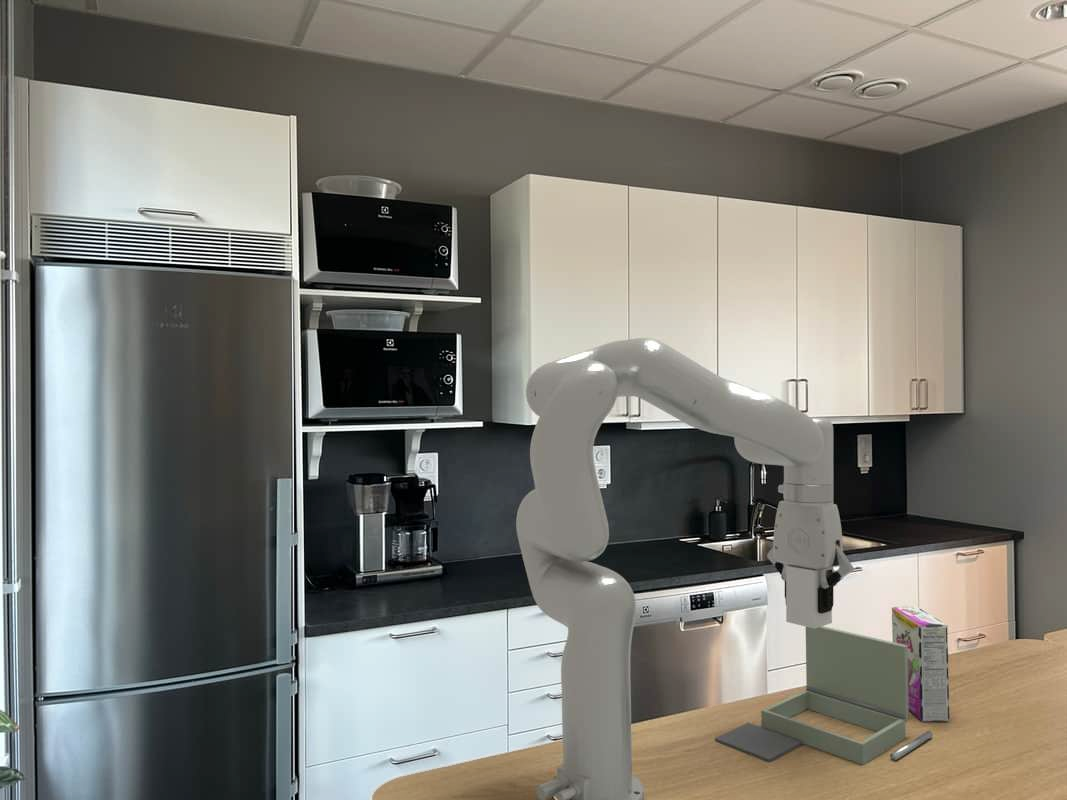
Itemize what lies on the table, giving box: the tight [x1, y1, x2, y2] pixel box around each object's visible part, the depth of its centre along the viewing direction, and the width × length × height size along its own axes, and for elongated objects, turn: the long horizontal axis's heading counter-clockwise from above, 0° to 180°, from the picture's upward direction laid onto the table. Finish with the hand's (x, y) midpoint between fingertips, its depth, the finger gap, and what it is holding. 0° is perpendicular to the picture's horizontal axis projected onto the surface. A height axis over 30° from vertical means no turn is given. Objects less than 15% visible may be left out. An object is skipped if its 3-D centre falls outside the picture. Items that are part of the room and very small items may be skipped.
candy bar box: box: [891, 606, 950, 723], centre depth 138 cm, size 11×5×16 cm, turn 179°
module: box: [785, 565, 833, 629], centre depth 128 cm, size 5×5×10 cm
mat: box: [714, 721, 804, 763], centre depth 126 cm, size 9×10×1 cm
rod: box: [889, 730, 934, 761], centre depth 123 cm, size 12×1×1 cm, turn 130°
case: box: [760, 625, 910, 766], centre depth 129 cm, size 15×17×14 cm
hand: (808, 607), depth 128 cm, fingers closed on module, 5 cm apart
